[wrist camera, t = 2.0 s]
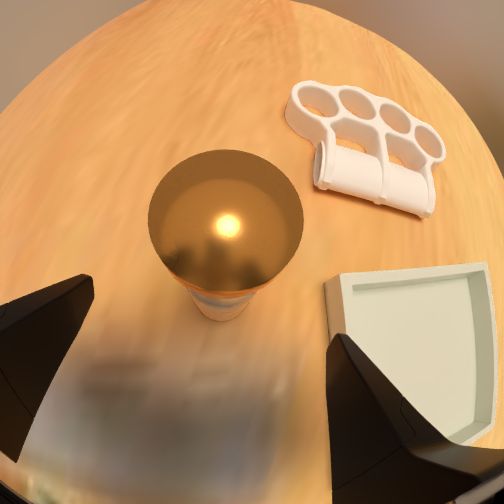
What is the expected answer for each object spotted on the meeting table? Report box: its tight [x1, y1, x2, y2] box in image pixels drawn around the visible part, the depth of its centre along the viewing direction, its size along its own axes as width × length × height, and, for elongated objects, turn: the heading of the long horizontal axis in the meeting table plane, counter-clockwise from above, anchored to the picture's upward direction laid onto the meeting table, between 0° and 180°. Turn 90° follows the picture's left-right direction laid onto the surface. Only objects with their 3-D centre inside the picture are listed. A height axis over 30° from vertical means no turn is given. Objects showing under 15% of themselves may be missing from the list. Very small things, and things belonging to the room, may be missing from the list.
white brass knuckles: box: [285, 80, 446, 219], centre depth 24 cm, size 3×18×15 cm
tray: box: [324, 262, 498, 446], centre depth 18 cm, size 17×17×3 cm
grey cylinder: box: [148, 150, 304, 322], centre depth 13 cm, size 4×4×13 cm
